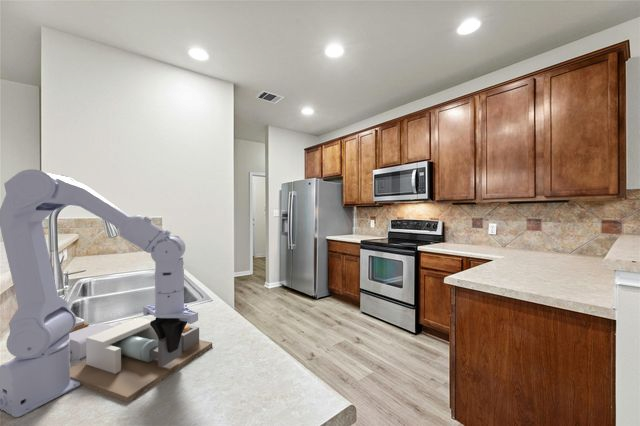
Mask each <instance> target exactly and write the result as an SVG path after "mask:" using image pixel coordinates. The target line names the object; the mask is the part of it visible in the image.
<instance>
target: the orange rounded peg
mask: <svg viewBox="0 0 640 426" xmlns="http://www.w3.org/2000/svg"><path fill="white" fill-rule="evenodd" d="M189 330H190V327H189V326H185V328H184V330H183V332H182V333H185V332H187V331H189Z"/></svg>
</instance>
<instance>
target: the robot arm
mask: <svg viewBox="0 0 640 426" xmlns="http://www.w3.org/2000/svg"><path fill="white" fill-rule="evenodd" d="M3 187H4V188H5V189H4V190H5V197H4V199H3V201H2V204H1V206H0V232H1V236H2V241H3V245H4V250H5V255H6V257H7V263H8V268H9V271H10V276H11V280H12V284H13V290H14V293H15V297H16V302H17V305H18V306H17V309H16V311H15V312H14V313H13V315H12V317H11V319H10V320H9V322H8V326H9V334H8V336H7V339H6V343H5V344H6V348H7V351H8V352H9V354H11V355H12V356H13V357H14V358H12V359H11V360H9V361H7V362H4V363H3V364H0V409H1V410H0V411H2V410H4V411H6V412H7V413H6V412H5V413H6V414H8V413H9V414H8V415H10V414H11V415H10V416H13V417H14V418H19V417H22V416H23V415H26V414H27V413H30V412H31V411H33V410H35V409H37V408H39V407H42V406H43V405H45V404H47V403H49V402H50V401H53V400H54V399H56V398H59V397H61V396H62V395H64V394H66V393H68V392H70V391H72V390H73V389H76V388H77V387H80V386H82V385H81V382H78V381H75V380H73V379H70V367H71V358H70V339H69V333H70V332H71V331H72V330H73V329H74V327H75V325H76V317H77V315H76V314H75V313H74V312H73V311H72V309H70V307H69V305H68V301H67V300H66V299H64V298H63V297H61V296H60V295H58V290H57V286H56V282H55V281H56V280H55V276H54V272H53V268H52V263H51V258H50V254H49V249H48V244H47V240H46V235H45V232H44V231H45V230H44V226H43V221H44V220H45V219H46V218H47V217H49V216H50V215H51V214H52V213H53V212H55V211H56V210H58V209H60V208H63V207H65V206H67V205H68V206H75V207H76V206H77V207H80V208H82V209H84V210H86V211H87V212H89V213H91V214H92V215H94V216H96V217H98V218H100V219H102V220H103V221H106V222H107V223H109V224H111V225H112V226H115V228H117V229H118V233H119V237H120V238H123V240H126V241H127V242H129V243H131V244H132V245H134V246H136V247H137V248H139V249H140V250H142V251H144V252H146V253H147V254H149V253H150V257H151V259H152V260H153V262H155V271H154V303H153V304H152V303H150V304H148V305H145V306H143V315H144V316H149V315H150V316H154V317H155V318H154V319H153V320H152V321H151V322H150V325H151V326H152V328H153V329H154V331H155V332H156V334H157V336H158V339H159V340H161V339H163V338H165V337H166V341H167V350H168V352H169V353H171V352H173V351H175V350H177V349H178V346H179V342H180V339H181V335H182V332H183V330H184V328H185V326H186V325H191V324H194V323H196V322H198V321H199V312H198V311H196V310H192V309H191V308H189V307H188V303H185V268H184V257H183V255H185V252H186V243H185V241H184V240H183V239H182V238H181V237H180V236H178V235H175V234H174V235H171V234H172V232H171V231H170V230H168V229H167V230H165V229H163V228H161V227H160V226H158V225H156V224H155V223H153V222H152V221H153V219H152V218H151V217H149V216H143V215H140V214H139V215H138V214H137V215H132V216H131V215H129V214H128V213H126V212H125V211H124V210H122V209H121V208H119V207H117V206H116V205H115V204H114V203H112V202H111V201H109V200H108V199H106V198H105V197H103V196H102V195H101V194H99V193H97V191H95V190H93V189H92V188H90V187H89V186H88V185H85V184H84V183H82V182H79V181H77V180H75V179H73V177H70V176H68V175H64V174H54V173H50V172H46V171H44V170H40V169H33V168H31V169H25V170H22V171H19V172H17V173H16V174H15V175H14V176H12V177H11V178H9V179H8V180H7V181H6V182H4V186H3ZM4 411H3V412H4Z"/></svg>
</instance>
